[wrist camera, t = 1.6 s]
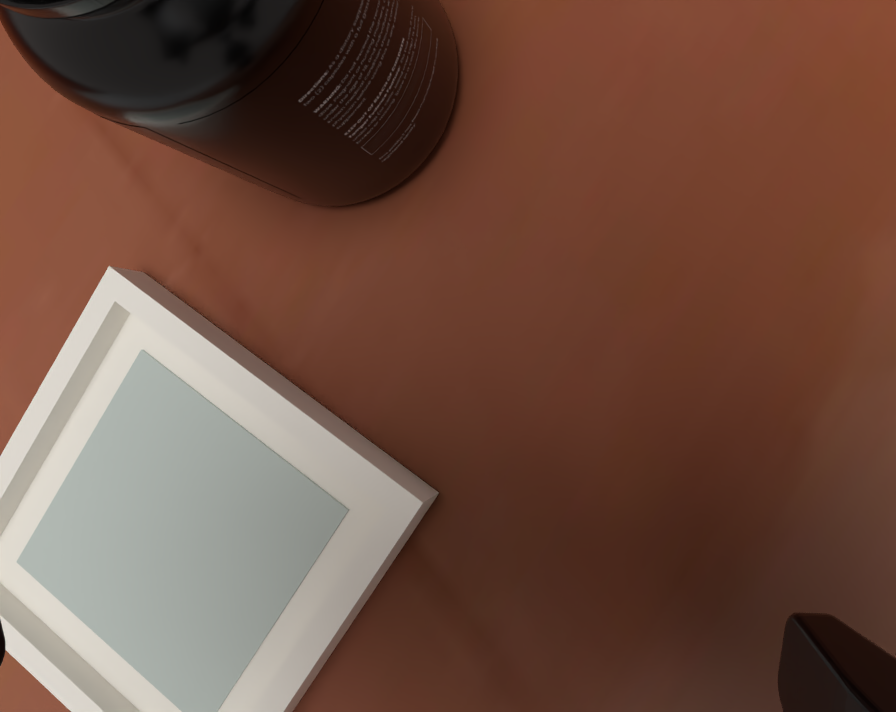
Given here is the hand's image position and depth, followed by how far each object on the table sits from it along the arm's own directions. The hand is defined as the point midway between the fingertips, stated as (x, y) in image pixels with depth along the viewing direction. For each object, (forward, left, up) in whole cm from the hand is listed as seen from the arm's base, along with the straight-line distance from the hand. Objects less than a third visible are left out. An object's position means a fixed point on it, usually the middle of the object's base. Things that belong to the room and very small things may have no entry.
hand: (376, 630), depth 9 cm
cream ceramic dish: (+7, +7, -12) cm, 15 cm away
